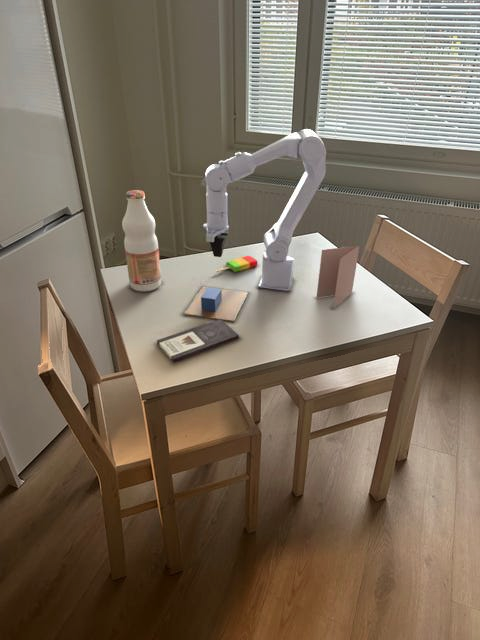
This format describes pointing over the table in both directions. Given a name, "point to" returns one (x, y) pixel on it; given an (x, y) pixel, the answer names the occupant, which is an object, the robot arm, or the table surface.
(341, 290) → the greeting card
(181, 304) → the table surface
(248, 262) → the popsicle
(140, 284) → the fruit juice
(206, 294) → the blue block
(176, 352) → the chocolate bar
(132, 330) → the table surface
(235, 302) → the cork mat
